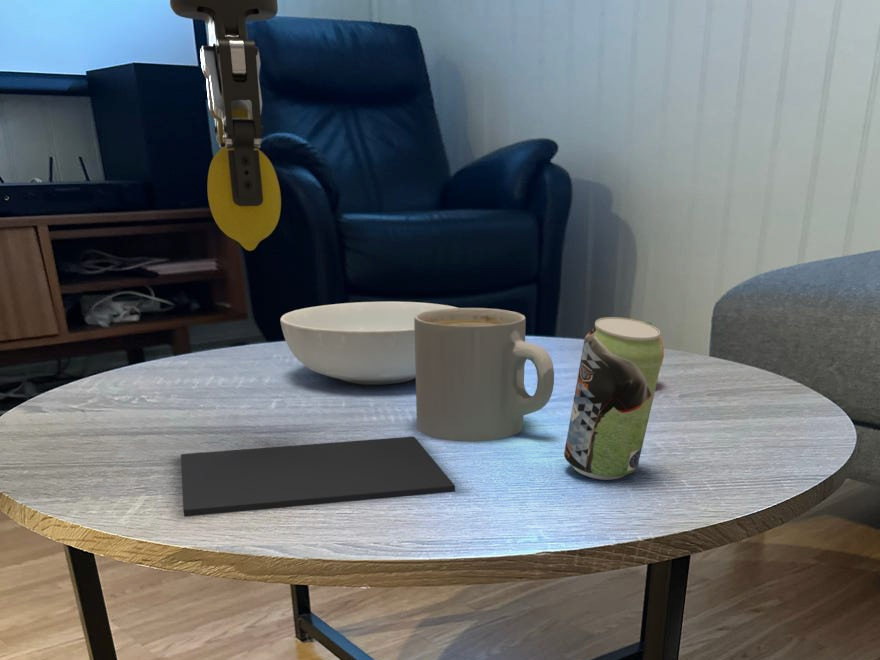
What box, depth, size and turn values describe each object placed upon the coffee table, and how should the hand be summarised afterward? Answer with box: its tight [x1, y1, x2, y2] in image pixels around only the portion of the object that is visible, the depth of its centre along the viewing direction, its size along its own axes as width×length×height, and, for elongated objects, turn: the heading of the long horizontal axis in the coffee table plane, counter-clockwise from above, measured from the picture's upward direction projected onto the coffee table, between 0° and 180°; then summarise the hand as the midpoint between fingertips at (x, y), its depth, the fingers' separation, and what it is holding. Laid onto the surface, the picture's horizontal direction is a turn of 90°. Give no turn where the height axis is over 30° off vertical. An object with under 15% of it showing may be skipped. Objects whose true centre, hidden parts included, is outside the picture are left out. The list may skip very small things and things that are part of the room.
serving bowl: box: [279, 301, 458, 386], centre depth 105 cm, size 21×21×7 cm
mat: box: [180, 436, 456, 517], centre depth 75 cm, size 20×14×1 cm
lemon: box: [206, 146, 282, 252], centre depth 73 cm, size 6×6×8 cm
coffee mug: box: [414, 307, 555, 442], centre depth 85 cm, size 13×10×10 cm
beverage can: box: [563, 316, 664, 481], centre depth 73 cm, size 6×7×12 cm
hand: (244, 202), depth 73 cm, fingers closed on lemon, 5 cm apart
